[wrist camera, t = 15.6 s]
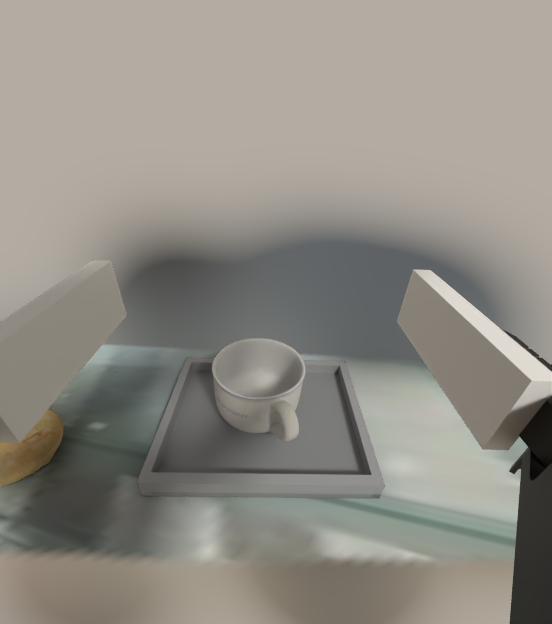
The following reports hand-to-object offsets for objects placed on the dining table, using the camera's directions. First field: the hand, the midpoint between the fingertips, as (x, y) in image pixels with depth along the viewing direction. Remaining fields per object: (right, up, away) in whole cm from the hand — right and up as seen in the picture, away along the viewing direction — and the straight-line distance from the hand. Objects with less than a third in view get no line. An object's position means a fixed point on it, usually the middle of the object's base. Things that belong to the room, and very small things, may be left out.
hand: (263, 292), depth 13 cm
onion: (-27, -17, +18) cm, 37 cm away
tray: (-1, -15, +23) cm, 28 cm away
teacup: (-1, -15, +23) cm, 27 cm away
